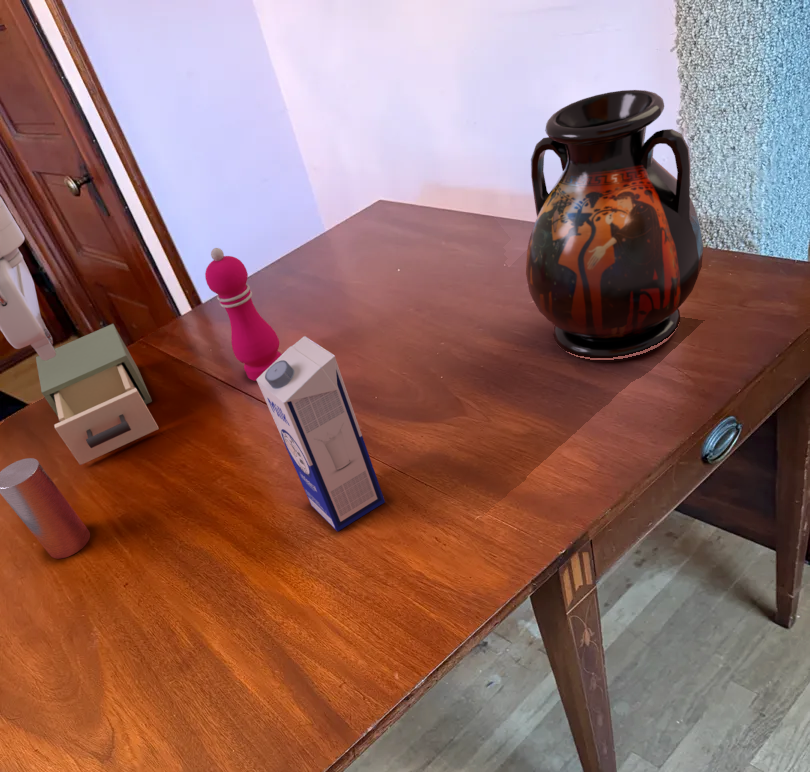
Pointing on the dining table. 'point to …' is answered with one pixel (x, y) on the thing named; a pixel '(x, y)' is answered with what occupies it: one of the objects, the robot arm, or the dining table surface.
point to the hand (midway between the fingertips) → (48, 350)
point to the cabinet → (87, 363)
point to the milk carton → (321, 433)
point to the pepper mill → (242, 314)
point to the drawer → (101, 414)
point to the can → (43, 508)
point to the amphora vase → (612, 228)
